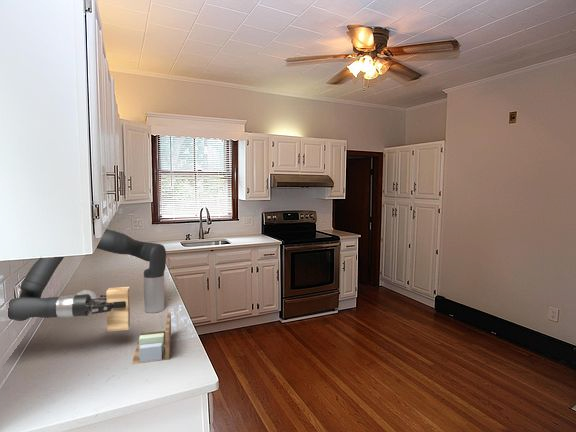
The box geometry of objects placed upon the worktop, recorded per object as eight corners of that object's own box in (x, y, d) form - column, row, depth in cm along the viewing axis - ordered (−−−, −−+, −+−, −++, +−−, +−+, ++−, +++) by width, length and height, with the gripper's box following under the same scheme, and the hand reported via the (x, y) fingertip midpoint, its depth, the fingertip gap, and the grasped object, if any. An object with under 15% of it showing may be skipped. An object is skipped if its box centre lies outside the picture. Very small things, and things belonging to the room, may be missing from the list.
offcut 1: (140, 354, 120) (140, 335, 120) (164, 351, 123) (163, 332, 122) (139, 358, 117) (138, 339, 117) (163, 355, 120) (163, 336, 119)
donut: (73, 312, 161) (72, 292, 160) (74, 310, 164) (73, 290, 163) (97, 309, 165) (96, 289, 164) (97, 307, 168) (97, 287, 167)
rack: (138, 342, 132) (138, 314, 131) (171, 338, 135) (170, 311, 134) (131, 367, 113) (130, 335, 112) (169, 362, 117) (168, 331, 116)
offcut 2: (140, 358, 117) (140, 345, 116) (162, 356, 119) (161, 342, 119) (139, 362, 115) (139, 348, 114) (161, 359, 117) (161, 345, 116)
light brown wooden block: (109, 327, 125) (108, 288, 124) (129, 325, 128) (129, 286, 126) (107, 331, 122) (106, 291, 120) (128, 329, 124) (127, 289, 123)
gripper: (67, 302, 112) (123, 298, 118) (79, 289, 126) (129, 286, 131) (67, 323, 113) (123, 319, 118) (80, 309, 127) (129, 305, 132)
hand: (126, 302), depth 125 cm, fingers closed on light brown wooden block, 4 cm apart
